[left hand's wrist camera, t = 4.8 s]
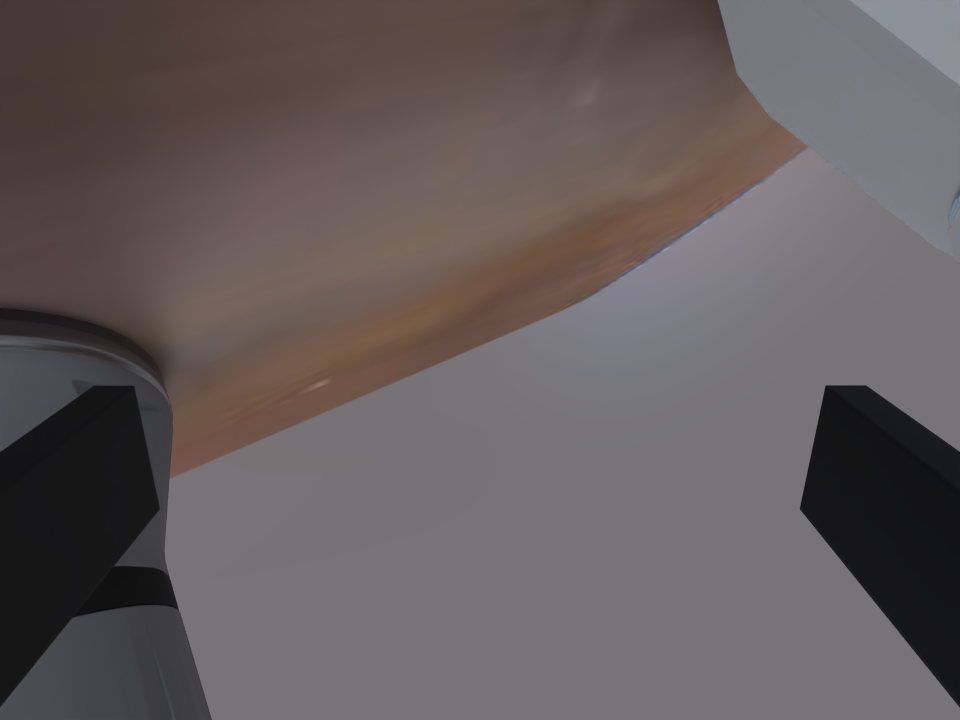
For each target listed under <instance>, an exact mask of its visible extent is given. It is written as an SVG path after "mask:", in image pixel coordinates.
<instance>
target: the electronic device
mask: <svg viewBox="0 0 960 720" xmlns="http://www.w3.org/2000/svg"><path fill="white" fill-rule="evenodd" d="M718 3H719V7H720V11H721V15H722V19H723V22H724V26H725V30H726V34H727V38H728V41H729V45H730V49H731V53H732V57H733V60H734V64H735V68H736V72H737V75H738V76H739V77H740V78H741V80H742V81H743V82H744V84H745V85H746V86H747V87H748V89H749V90H750V91H751V93H752V94H753V95H754V97H755V98H756V99H757V100H758V102H759V103H760V104H761V106H762V107H763V108H764V109H765V111H766V112H767V113H768V115H769V116H770V117H772V118H773V119H774V120H776V121H777V122H778V123H779V124H781V125H782V126H783V127H784V128H786V129H787V130H788V131H789V132H791V133H792V134H793V135H794V136H796V137H797V138H798V139H799V140H801V141H802V142H803V143H805V144H806V145H807V146H808V147H810V148H811V149H812V150H813V151H815V152H816V153H817V154H818V155H820V156H821V157H822V158H823V159H825V160H826V161H827V162H828V163H830V164H831V165H832V166H834V167H835V168H836V169H837V170H839V171H840V172H841V173H842V174H844V175H845V176H846V177H847V178H849V179H850V180H851V181H853V182H854V183H855V184H856V185H858V186H859V187H860V188H861V189H863V190H864V191H865V192H866V193H868V194H869V195H870V196H871V197H873V198H874V199H875V200H876V201H878V202H879V203H880V204H881V205H883V206H884V207H885V208H887V209H888V210H889V211H890V212H892V213H893V214H894V215H895V216H897V217H898V218H899V219H900V220H902V221H903V222H904V223H905V224H907V225H908V226H909V227H910V228H912V229H913V230H914V231H916V232H917V233H918V234H919V235H921V236H922V237H923V238H924V239H926V240H927V241H928V242H929V243H931V244H932V245H933V246H934V247H936V248H938V249H940V250H942V251H944V252H945V253H947V254H949V255H951V256H953V257H954V258H955V259H956V260H957V261H958V262H959V263H960V0H718Z"/></svg>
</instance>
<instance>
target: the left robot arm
mask: <svg viewBox="0 0 960 720" xmlns="http://www.w3.org/2000/svg"><path fill="white" fill-rule="evenodd" d="M172 422H173V412H172V407H171V404H170V401H169V397H168V394H167V391H166V388H165V385H164V382H163V379H162V376H161V373H160V371H159V369H158V367H157V365H156V364H155V362H154V361H153V359H152V358H151V357H150V356H149V355H148V354H147V353H146V352H145V351H144V350H143V349H142V348H140V347H139V346H137V345H136V344H135V343H133V342H132V341H130V340H128V339H126V338H125V337H123V336H121V335H119V334H117V333H114V332H112V331H110V330H107V329H105V328H102V327H99V326H96V325H93V324H90V323H87V322H83V321H79V320H75V319H71V318H67V317H63V316H57V315H51V314H46V313H39V312H31V311H23V310H12V309H0V720H212V719H211V715H210V712H209V709H208V705H207V702H206V699H205V695H204V692H203V688H202V685H201V682H200V678H199V675H198V671H197V668H196V665H195V661H194V658H193V655H192V651H191V648H190V644H189V641H188V638H187V634H186V631H185V627H184V624H183V621H182V617H181V614H180V612H179V609H178V605H177V602H176V598H175V595H174V591H173V588H172V584H171V580H170V577H169V574H168V570H167V566H166V562H165V552H164V548H165V534H166V520H167V505H168V490H169V477H170V463H171V449H172V435H173V423H172ZM800 510H801V511H802V512H803V514H804V515H805V516H806V517H807V519H808V520H809V521H810V522H811V523H812V525H813V526H814V527H815V528H816V530H817V531H818V532H819V533H820V535H821V536H822V537H823V538H824V540H825V541H826V542H827V543H828V545H829V546H830V547H831V548H832V550H833V551H834V552H835V553H836V555H837V556H838V557H839V558H840V559H841V561H842V562H843V563H844V564H845V566H846V567H847V568H848V569H849V571H850V572H851V573H852V574H853V576H854V577H855V578H856V579H857V581H858V582H859V583H860V584H861V586H862V587H863V588H864V589H865V591H866V592H867V593H868V594H869V595H870V597H871V598H872V599H873V600H874V602H875V603H876V604H877V605H878V607H879V608H880V609H881V610H882V612H883V613H884V614H885V615H886V617H887V618H888V619H889V620H890V621H891V623H892V624H893V625H894V626H895V628H896V629H897V630H898V631H899V633H900V634H901V635H902V636H903V638H904V639H905V640H906V641H907V643H908V644H909V645H910V646H911V648H912V649H913V650H914V651H915V653H916V654H917V655H918V656H919V657H920V659H921V660H922V661H923V662H924V664H925V665H926V666H927V667H928V669H929V670H930V671H931V672H932V674H933V675H934V676H935V677H936V679H937V680H938V681H939V682H940V684H941V685H942V686H943V687H944V688H945V690H946V691H947V692H948V693H949V695H950V696H951V697H952V698H953V700H954V701H955V702H956V703H957V705H958V706H959V707H960V452H959V451H958V450H956V449H955V448H954V447H952V446H951V445H949V444H948V443H947V442H945V441H944V440H942V439H941V438H939V437H938V436H937V435H935V434H934V433H932V432H931V431H930V430H928V429H927V428H925V427H924V426H923V425H921V424H920V423H918V422H917V421H915V420H914V419H913V418H911V417H910V416H908V415H907V414H906V413H904V412H903V411H901V410H900V409H898V408H897V407H896V406H894V405H893V404H891V403H890V402H889V401H887V400H886V399H884V398H883V397H882V396H880V395H879V394H877V393H876V392H874V391H873V390H872V389H870V388H869V387H867V386H825V391H824V396H823V401H822V405H821V410H820V415H819V420H818V425H817V429H816V434H815V439H814V444H813V449H812V453H811V458H810V463H809V468H808V472H807V477H806V482H805V487H804V492H803V496H802V501H801V506H800Z"/></svg>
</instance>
